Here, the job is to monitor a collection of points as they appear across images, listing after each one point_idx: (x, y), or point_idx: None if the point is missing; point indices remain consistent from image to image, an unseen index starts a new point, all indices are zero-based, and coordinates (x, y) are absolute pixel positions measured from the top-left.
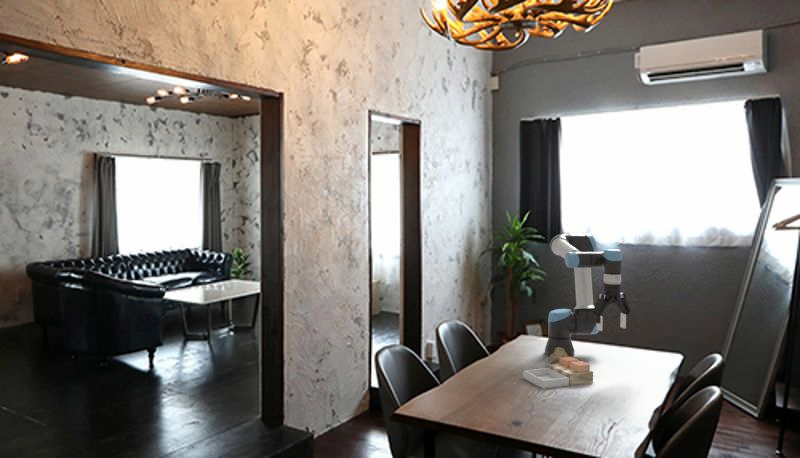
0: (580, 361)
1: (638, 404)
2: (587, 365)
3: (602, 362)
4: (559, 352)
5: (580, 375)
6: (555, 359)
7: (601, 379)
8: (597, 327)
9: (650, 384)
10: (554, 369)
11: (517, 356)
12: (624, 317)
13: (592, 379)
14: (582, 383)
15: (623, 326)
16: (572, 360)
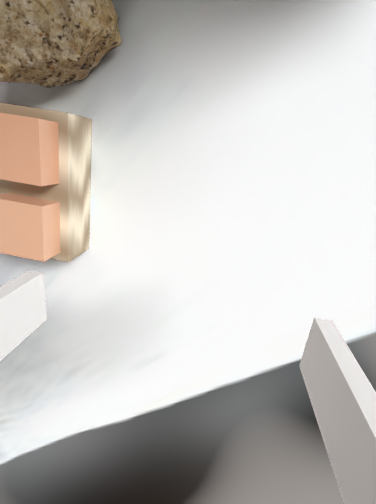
0: (33, 210)
1: (81, 403)
2: (35, 258)
3: (353, 42)
4: (18, 15)
5: None
6: None
7: (139, 237)
8: (13, 285)
9: (237, 344)
10: None
11: None
12: (341, 483)
13: (81, 251)
14: None
15: (307, 365)
16: (9, 179)
